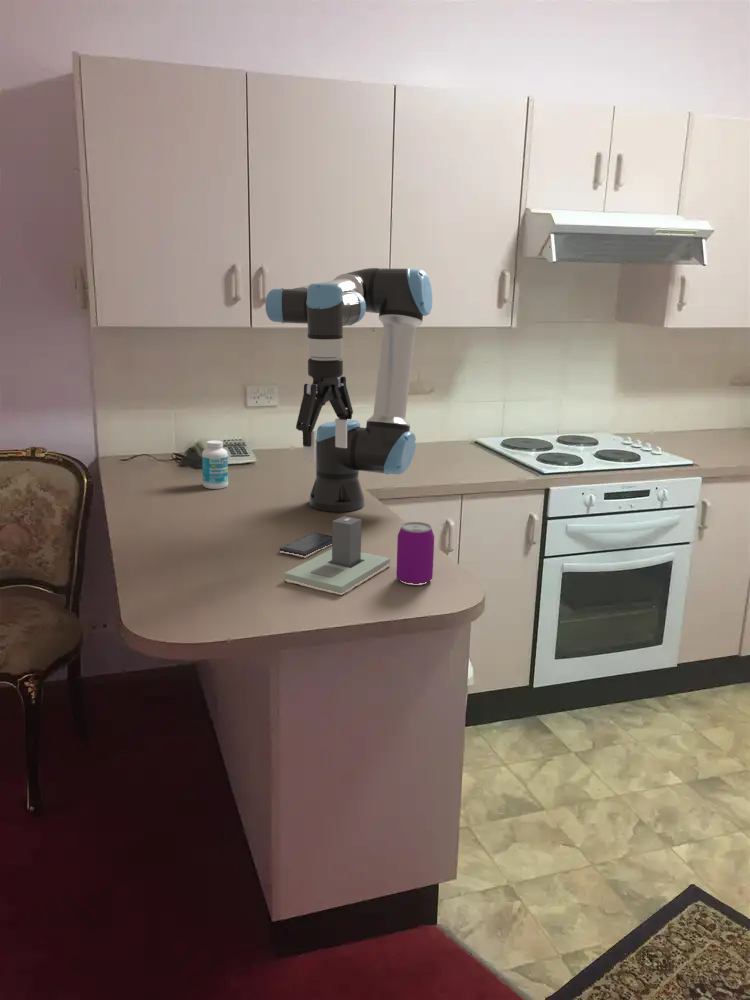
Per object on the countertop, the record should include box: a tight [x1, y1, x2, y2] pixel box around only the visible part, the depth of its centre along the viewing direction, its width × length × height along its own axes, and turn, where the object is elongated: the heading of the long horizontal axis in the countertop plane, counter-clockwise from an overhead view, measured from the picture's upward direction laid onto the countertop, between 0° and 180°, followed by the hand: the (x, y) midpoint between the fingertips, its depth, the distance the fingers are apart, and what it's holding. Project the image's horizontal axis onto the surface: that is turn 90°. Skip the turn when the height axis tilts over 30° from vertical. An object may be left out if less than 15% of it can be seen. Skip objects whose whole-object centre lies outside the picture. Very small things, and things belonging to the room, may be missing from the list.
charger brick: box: [331, 515, 362, 568], centre depth 175 cm, size 4×4×11 cm
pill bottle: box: [201, 440, 229, 490], centre depth 239 cm, size 8×7×14 cm
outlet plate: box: [283, 548, 391, 593], centre depth 174 cm, size 20×14×2 cm
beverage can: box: [395, 521, 435, 584], centre depth 170 cm, size 8×8×12 cm
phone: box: [279, 532, 332, 556], centre depth 190 cm, size 14×7×1 cm, turn 150°
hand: (325, 453), depth 181 cm, fingers open, 13 cm apart
